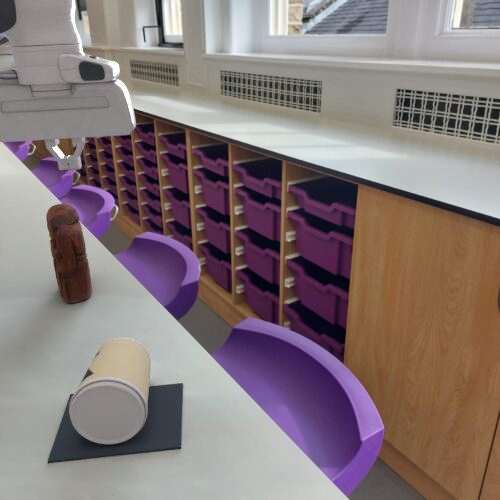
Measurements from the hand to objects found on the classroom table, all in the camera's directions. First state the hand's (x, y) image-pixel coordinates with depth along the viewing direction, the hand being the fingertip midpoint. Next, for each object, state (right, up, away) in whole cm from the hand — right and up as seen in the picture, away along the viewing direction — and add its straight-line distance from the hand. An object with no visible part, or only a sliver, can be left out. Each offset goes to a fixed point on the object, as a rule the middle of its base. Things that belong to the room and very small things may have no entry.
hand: (70, 168), depth 71 cm
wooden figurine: (-9, -20, +27) cm, 35 cm away
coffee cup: (+8, -28, -1) cm, 29 cm away
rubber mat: (+9, -35, -6) cm, 36 cm away
